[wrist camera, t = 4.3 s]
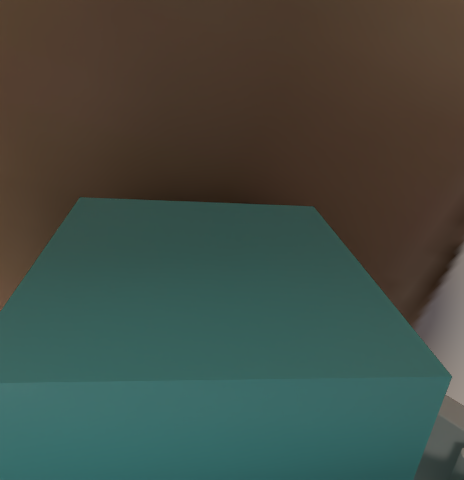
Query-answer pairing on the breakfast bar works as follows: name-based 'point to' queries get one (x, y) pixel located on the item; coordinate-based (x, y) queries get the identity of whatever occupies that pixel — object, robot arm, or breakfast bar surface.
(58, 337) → the turquoise cube
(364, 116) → the breakfast bar surface
